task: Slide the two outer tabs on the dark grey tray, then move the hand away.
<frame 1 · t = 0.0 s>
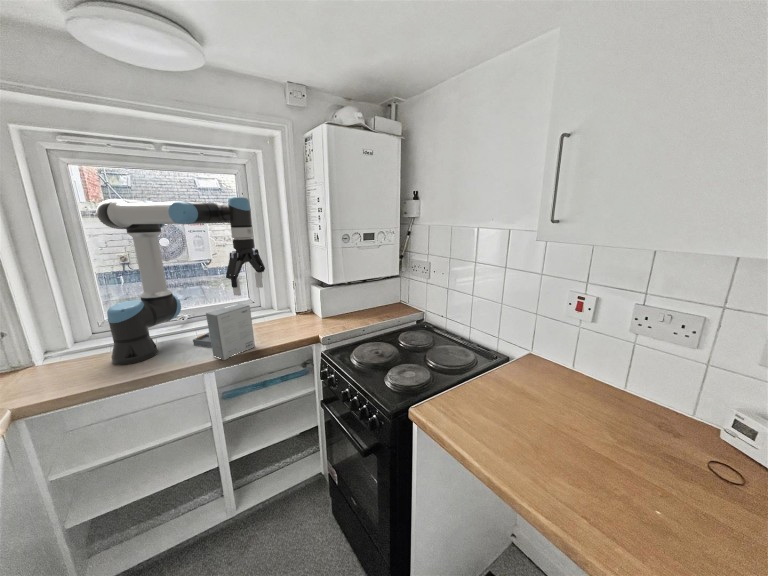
hand: (249, 291, 121), 28 cm above the worktop, fingers open, 13 cm apart
hard drive box: (234, 352, 130), on the worktop
tab b: (225, 330, 144), point 4 cm above the worktop, slide at 0.0 cm
tab a: (215, 335, 138), point 4 cm above the worktop, slide at 0.0 cm
dark grey tray: (221, 338, 145), on the worktop
tab c: (233, 326, 149), point 4 cm above the worktop, slide at 0.0 cm
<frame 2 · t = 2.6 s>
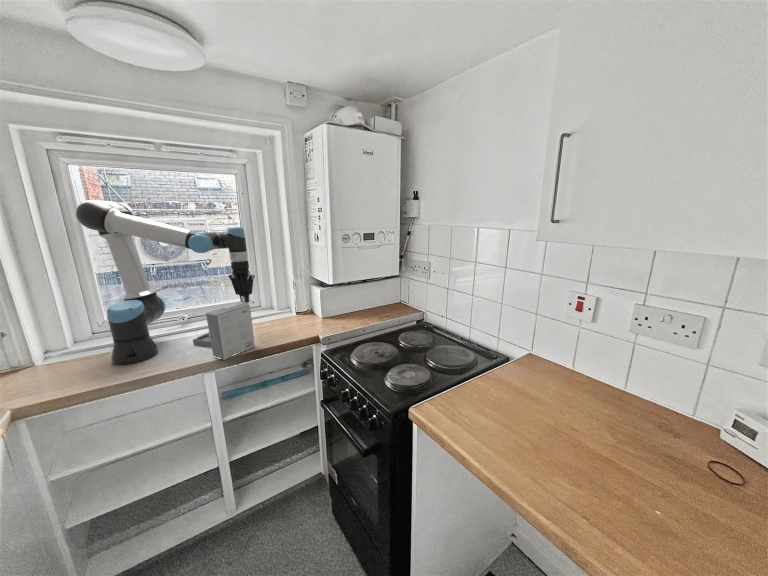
hand: (246, 308, 145), 14 cm above the worktop, fingers closed
nothing on the worktop moved.
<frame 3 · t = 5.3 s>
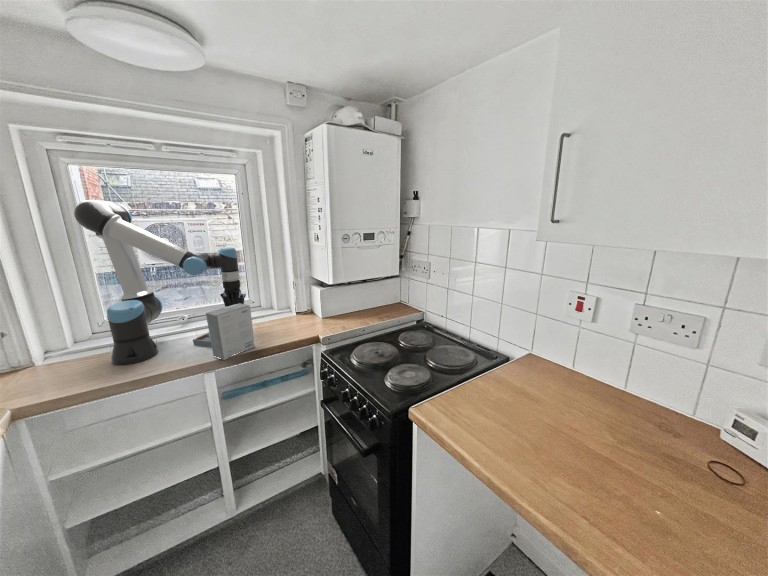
hand: (236, 325, 149), 4 cm above the worktop, fingers closed
tab c: (232, 326, 150), point 4 cm above the worktop, slide at 0.6 cm, touching gripper
everything else where it was.
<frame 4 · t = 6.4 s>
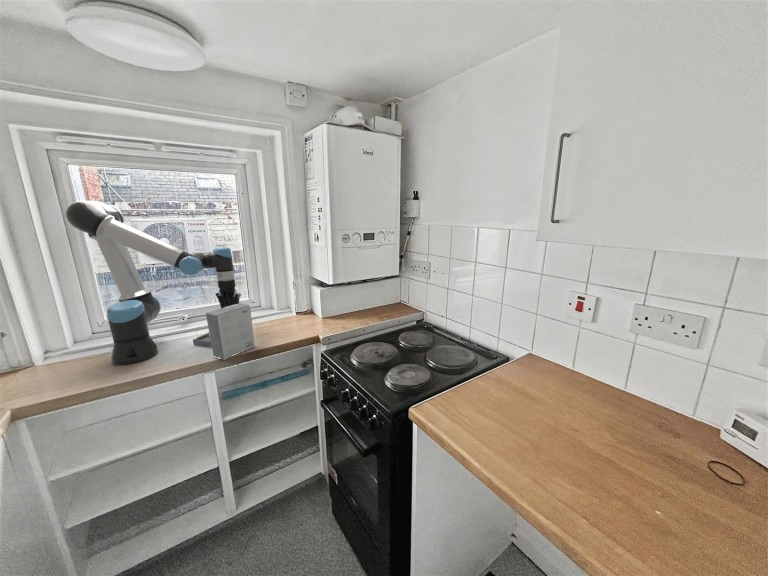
hand: (232, 325, 150), 5 cm above the worktop, fingers closed
tab c: (228, 325, 150), point 4 cm above the worktop, slide at 3.4 cm, touching gripper
everything else where it was.
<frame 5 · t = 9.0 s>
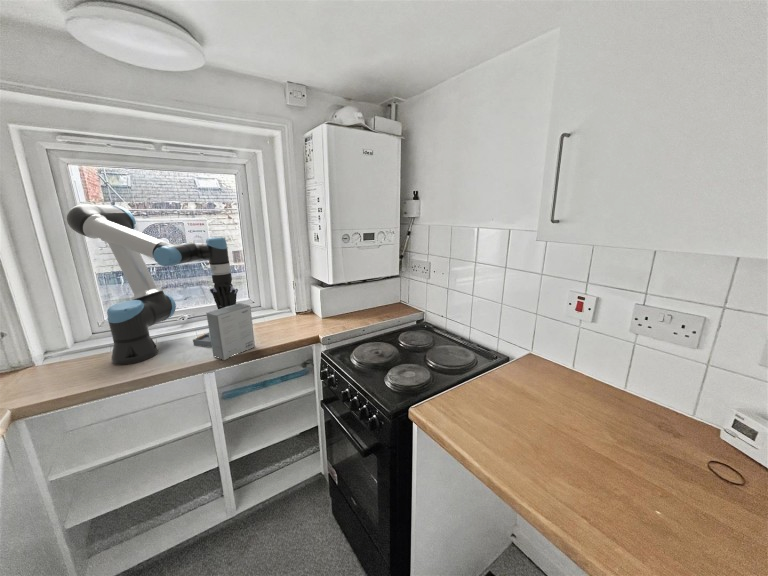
hand: (229, 324, 135), 10 cm above the worktop, fingers closed
tab c: (228, 325, 150), point 4 cm above the worktop, slide at 3.4 cm
everything else where it was.
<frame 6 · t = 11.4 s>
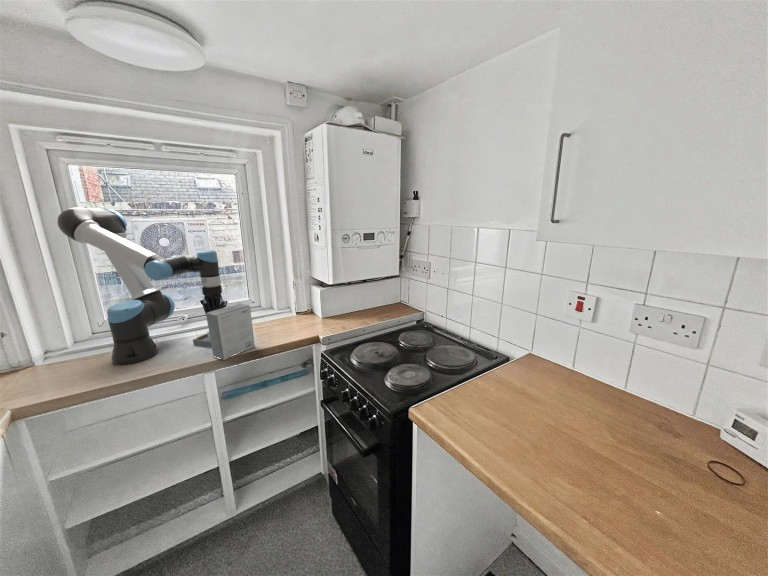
hand: (218, 335, 138), 4 cm above the worktop, fingers closed
tab a: (214, 335, 138), point 4 cm above the worktop, slide at 0.7 cm, touching gripper
everything else where it was.
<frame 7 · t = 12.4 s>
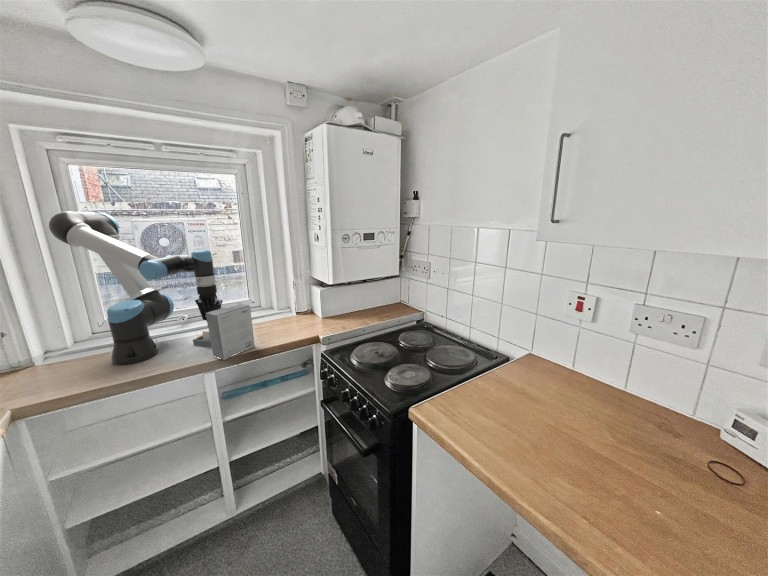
hand: (213, 334, 138), 5 cm above the worktop, fingers closed
tab a: (209, 334, 139), point 4 cm above the worktop, slide at 3.4 cm, touching gripper
everything else where it was.
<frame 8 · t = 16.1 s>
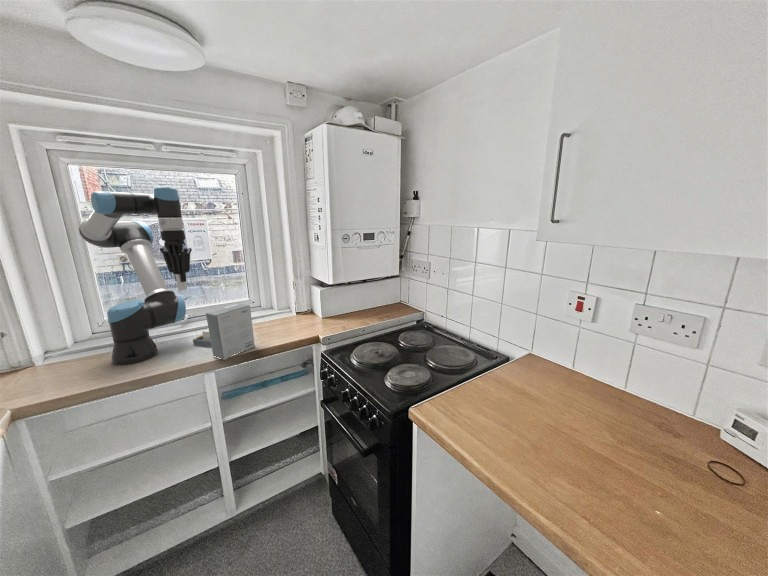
hand: (182, 289, 119), 29 cm above the worktop, fingers closed
tab a: (209, 334, 139), point 4 cm above the worktop, slide at 3.4 cm
everything else where it was.
at the end: tab c slide at 3.4 cm; tab a slide at 3.4 cm; tab b slide at 0.0 cm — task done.
